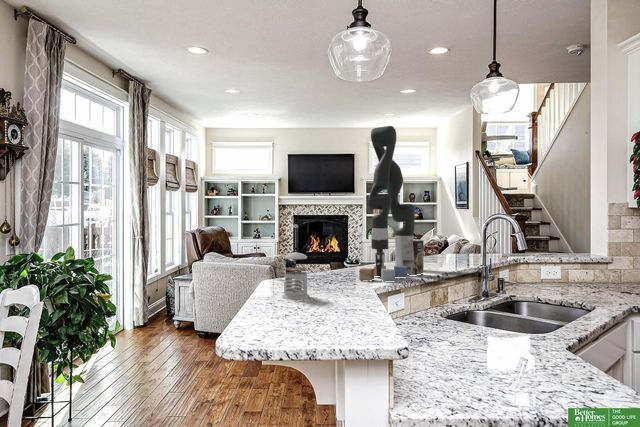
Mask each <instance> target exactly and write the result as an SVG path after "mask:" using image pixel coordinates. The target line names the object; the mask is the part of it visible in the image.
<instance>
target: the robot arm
mask: <svg viewBox="0 0 640 427" xmlns="http://www.w3.org/2000/svg"><path fill="white" fill-rule="evenodd" d="M370 141H371V144H372V147H373V150H374V152H375V155H376V158H377V160H378V163H377V165H376V166H375V169H374V173H373V184H372V186H371V187H372V188H371V190H370V192H369V196H368V198H367V206H368V208H369V209H371V210H377V211H378V210H382V212H381V213H378V214H375V215H373V216H372V217H371V237H370V238H371V239H370V240H371V245H370V246H371V249H372V250H376V252H375V253H374V257H375V258H374V260H375V262H374V263H375V265H376V269H377V276H380V277H381V269H382V266H385V265H384V264H385V252H384V250H388V249H389V227H388V226H389V225H388V224H389V220H388V219H389V214H390V213H391V217H392V219H393V221H394V222H396V223H404V225H403V226H402V227H400V228H397V229H396V230H395V232H394V239H395V240H394V246H395V247H394V248H395V250H394V252H395V253H394V254H395V255H394V258H395V260H394V264H395V265H394V266H403V241H409V240H415V239H414V237H415V236H414V234H415V233H414V232H415V220H416V219H415V216H416V210H415V206H414V204H411V203H401V204H400V202H399V194H400V192H401V190H402V187H403V184H404V178H403V173H402V170H401V166H399V164H398V163H397V162H396V161H395V160H394V159H393V157H394V155H395V154H394V153H395V148H396V145H397V144H396V142H397V131H396V128H395V127H394V126H393V125H386V126H379V127H374V128H372V129H371V131H370ZM385 190H386V193H381V192H382V191H385Z"/></svg>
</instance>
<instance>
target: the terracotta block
mask: <svg viewBox="0 0 640 427" xmlns="http://www.w3.org/2000/svg"><path fill="white" fill-rule="evenodd" d="M373 269H374V276H377V269H376V264H375V265H374V266H373ZM382 269H387V265H384V266H382Z"/></svg>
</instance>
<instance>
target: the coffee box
mask: <svg viewBox="0 0 640 427" xmlns="http://www.w3.org/2000/svg"><path fill="white" fill-rule="evenodd" d="M403 266H406V267H407V274H409V275H417V274H421V273H424V267H425V266H424V240H420V239H416V240H415V239H414V240H409V241H403Z"/></svg>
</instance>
